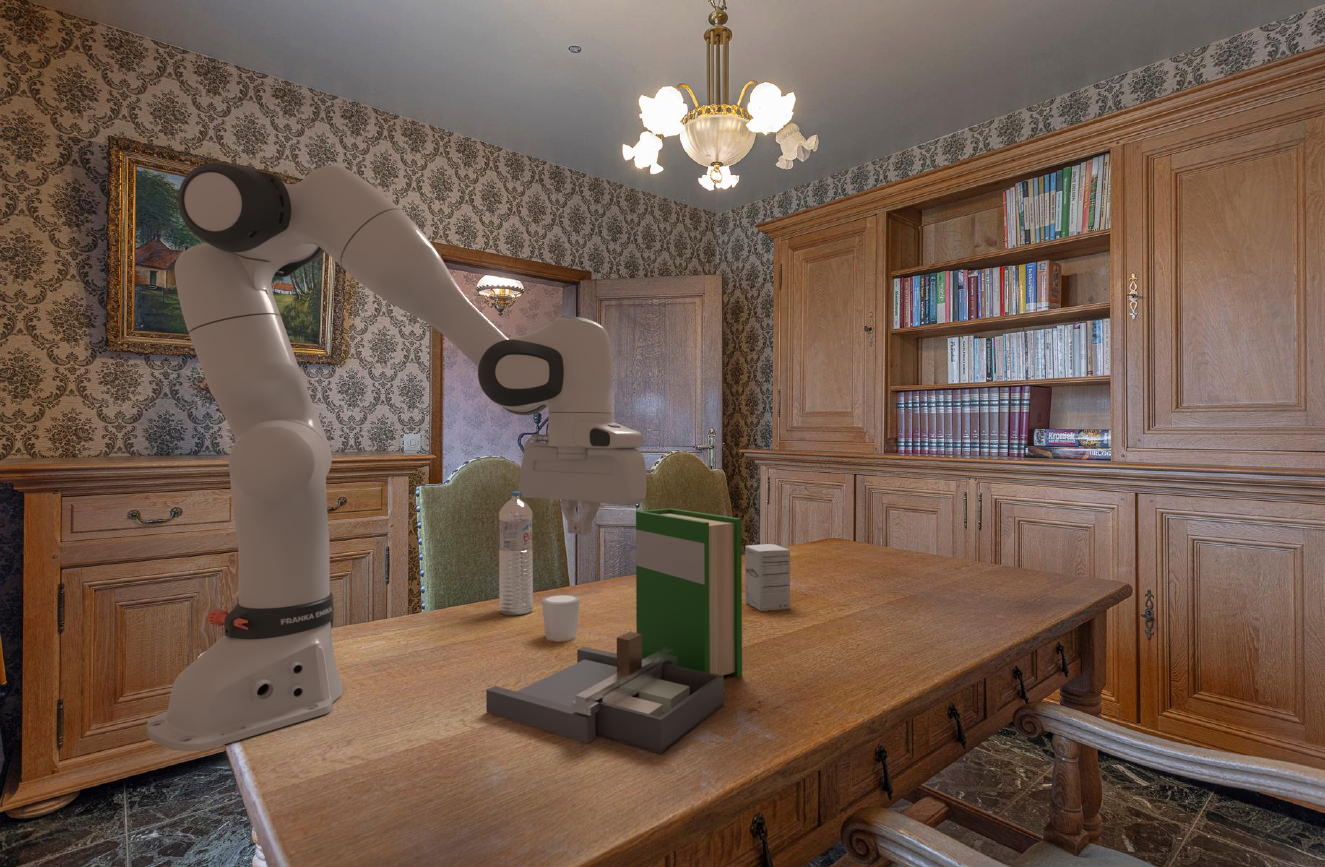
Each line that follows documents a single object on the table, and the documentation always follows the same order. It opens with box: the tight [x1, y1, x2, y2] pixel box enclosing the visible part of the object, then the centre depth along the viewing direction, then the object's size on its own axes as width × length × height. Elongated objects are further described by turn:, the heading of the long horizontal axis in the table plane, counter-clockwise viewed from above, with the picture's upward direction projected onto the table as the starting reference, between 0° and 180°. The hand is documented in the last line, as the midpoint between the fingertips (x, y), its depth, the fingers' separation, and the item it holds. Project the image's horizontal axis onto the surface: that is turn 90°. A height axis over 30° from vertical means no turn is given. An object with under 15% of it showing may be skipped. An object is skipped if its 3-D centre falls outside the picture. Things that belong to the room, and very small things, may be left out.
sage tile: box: [639, 679, 690, 713], centre depth 89 cm, size 5×5×2 cm
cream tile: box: [617, 696, 663, 717], centre depth 83 cm, size 5×5×2 cm
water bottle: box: [498, 490, 534, 617], centre depth 137 cm, size 7×7×25 cm
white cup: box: [541, 594, 581, 642], centre depth 120 cm, size 7×7×7 cm
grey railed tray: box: [485, 646, 644, 744], centre depth 92 cm, size 21×17×3 cm
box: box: [595, 663, 725, 755], centre depth 86 cm, size 16×12×4 cm
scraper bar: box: [571, 631, 678, 716], centre depth 88 cm, size 21×3×8 cm, turn 148°
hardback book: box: [635, 508, 743, 679], centre depth 105 cm, size 18×7×24 cm, turn 37°
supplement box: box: [744, 543, 791, 612], centre depth 141 cm, size 7×7×13 cm
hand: (579, 533), depth 92 cm, fingers closed
